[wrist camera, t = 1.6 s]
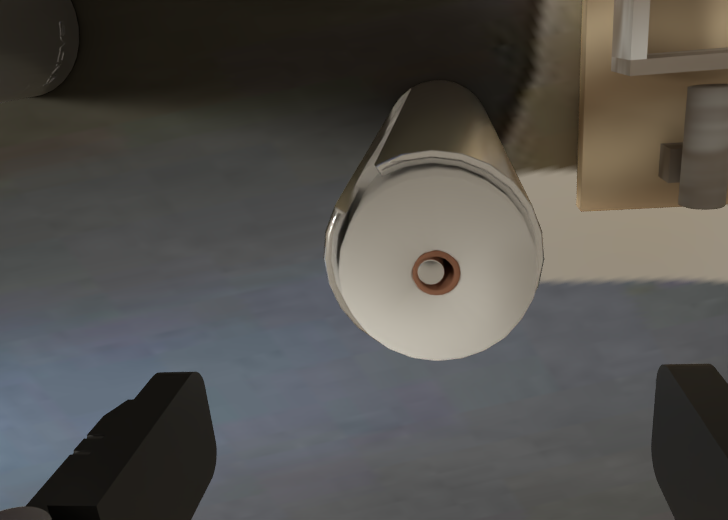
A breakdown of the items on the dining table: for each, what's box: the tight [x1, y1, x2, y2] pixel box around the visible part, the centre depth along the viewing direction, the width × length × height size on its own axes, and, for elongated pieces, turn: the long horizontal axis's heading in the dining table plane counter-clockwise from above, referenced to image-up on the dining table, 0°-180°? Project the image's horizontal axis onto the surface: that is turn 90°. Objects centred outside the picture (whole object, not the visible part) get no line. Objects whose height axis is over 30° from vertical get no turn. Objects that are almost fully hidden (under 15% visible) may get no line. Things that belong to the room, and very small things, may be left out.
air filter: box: [323, 80, 544, 361], centre depth 29 cm, size 6×6×25 cm
